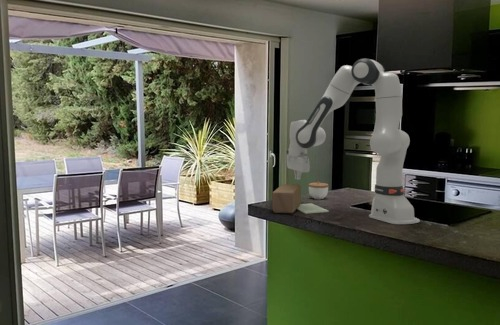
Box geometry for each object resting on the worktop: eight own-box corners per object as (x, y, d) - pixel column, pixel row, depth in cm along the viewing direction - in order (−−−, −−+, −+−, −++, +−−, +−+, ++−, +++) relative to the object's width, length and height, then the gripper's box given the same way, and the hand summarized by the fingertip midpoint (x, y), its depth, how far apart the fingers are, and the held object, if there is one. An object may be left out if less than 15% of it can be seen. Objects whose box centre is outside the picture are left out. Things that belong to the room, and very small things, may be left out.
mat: (328, 211, 214) (328, 210, 213) (305, 213, 210) (305, 212, 210) (311, 204, 230) (311, 203, 230) (289, 206, 227) (289, 204, 227)
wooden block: (282, 203, 230) (272, 213, 211) (281, 184, 229) (271, 192, 210) (301, 203, 227) (293, 213, 208) (300, 184, 226) (292, 192, 207)
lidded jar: (332, 198, 247) (332, 181, 246) (319, 201, 240) (320, 183, 239) (316, 195, 255) (317, 179, 254) (304, 198, 248) (304, 181, 246)
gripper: (313, 153, 218) (312, 182, 220) (295, 150, 238) (295, 176, 239) (301, 153, 216) (301, 182, 218) (284, 150, 236) (284, 177, 237)
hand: (297, 179), depth 229 cm, fingers closed
